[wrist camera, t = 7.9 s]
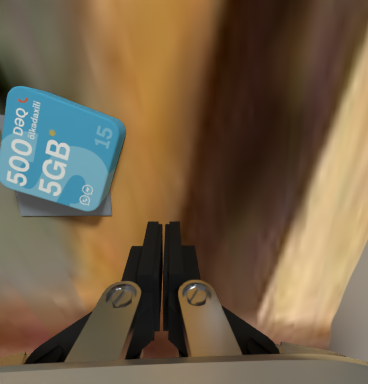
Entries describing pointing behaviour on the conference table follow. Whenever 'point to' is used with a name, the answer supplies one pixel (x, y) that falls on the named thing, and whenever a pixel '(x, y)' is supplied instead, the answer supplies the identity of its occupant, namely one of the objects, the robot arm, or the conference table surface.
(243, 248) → the conference table surface
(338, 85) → the conference table surface
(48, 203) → the felt pad
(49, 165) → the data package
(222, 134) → the conference table surface
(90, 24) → the conference table surface
